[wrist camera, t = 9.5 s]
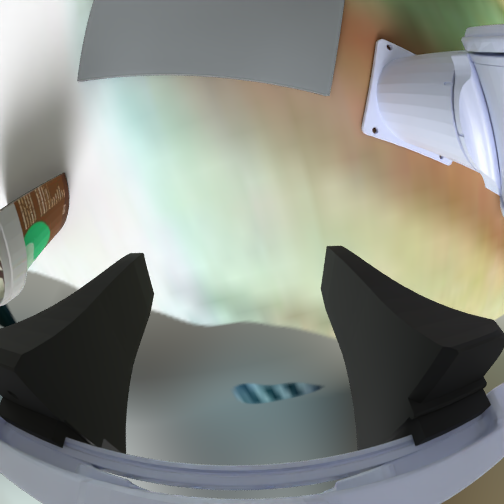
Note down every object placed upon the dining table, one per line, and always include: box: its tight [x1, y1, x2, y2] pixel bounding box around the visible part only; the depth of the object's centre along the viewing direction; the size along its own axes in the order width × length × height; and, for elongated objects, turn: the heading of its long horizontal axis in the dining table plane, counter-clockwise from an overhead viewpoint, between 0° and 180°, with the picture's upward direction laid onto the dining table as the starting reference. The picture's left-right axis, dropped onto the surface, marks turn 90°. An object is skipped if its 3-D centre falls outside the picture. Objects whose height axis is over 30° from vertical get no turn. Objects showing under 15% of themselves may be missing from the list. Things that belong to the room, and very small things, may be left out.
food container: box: [0, 173, 69, 306], centre depth 15 cm, size 12×6×10 cm, turn 101°
